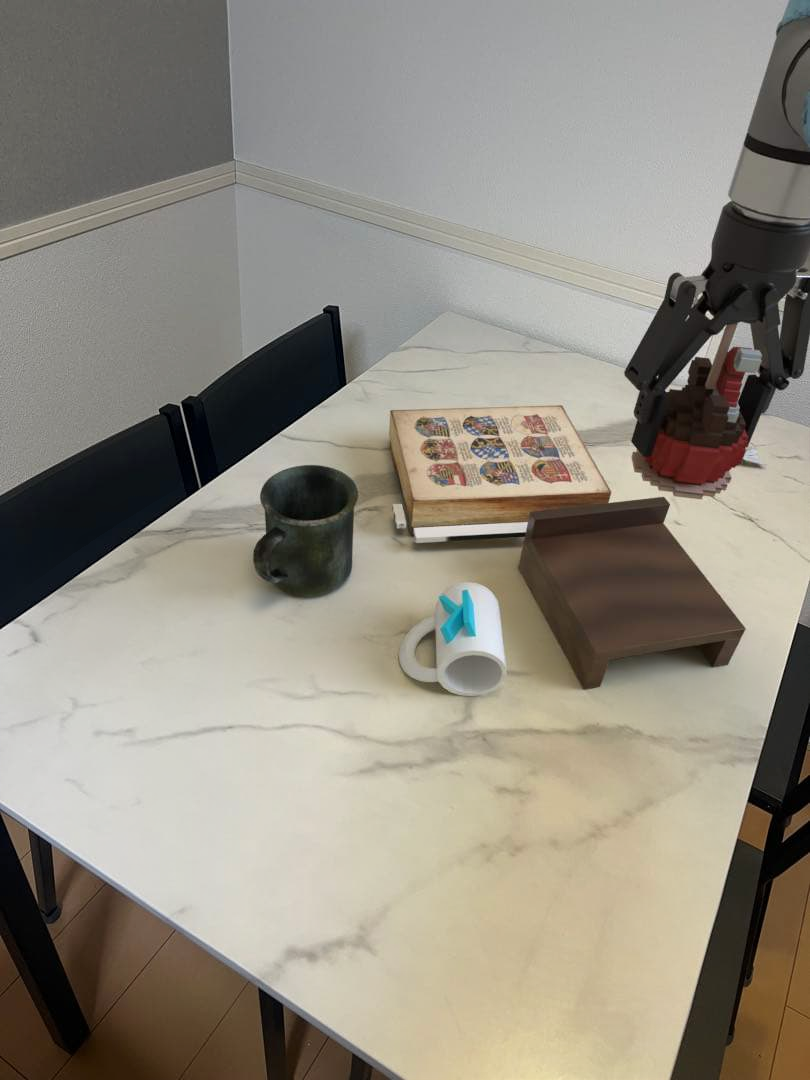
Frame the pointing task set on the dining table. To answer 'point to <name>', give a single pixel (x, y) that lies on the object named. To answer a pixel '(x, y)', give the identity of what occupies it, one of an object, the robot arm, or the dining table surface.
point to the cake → (702, 426)
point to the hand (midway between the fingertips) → (689, 444)
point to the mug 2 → (461, 642)
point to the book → (488, 470)
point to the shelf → (621, 586)
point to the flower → (753, 458)
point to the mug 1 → (307, 530)
